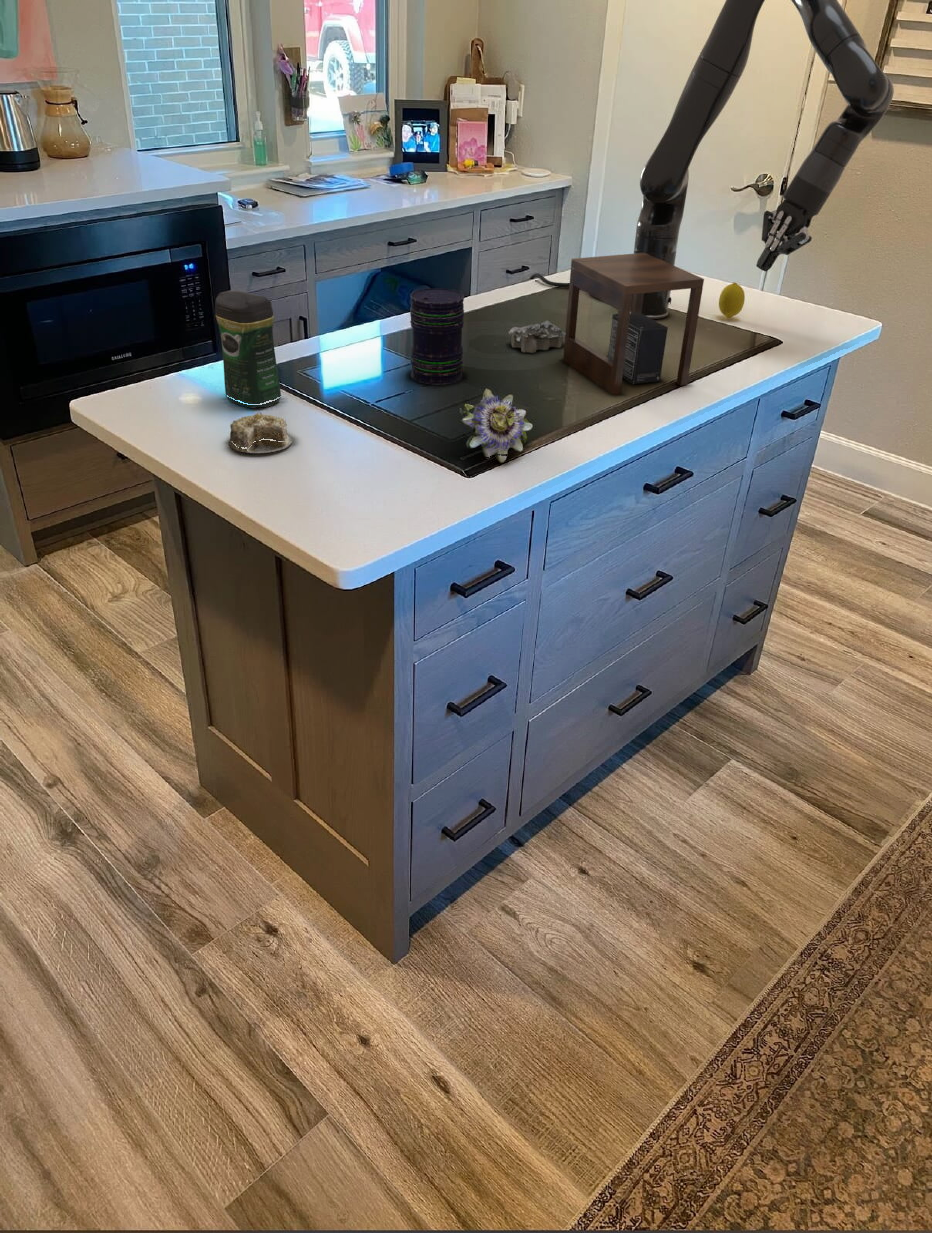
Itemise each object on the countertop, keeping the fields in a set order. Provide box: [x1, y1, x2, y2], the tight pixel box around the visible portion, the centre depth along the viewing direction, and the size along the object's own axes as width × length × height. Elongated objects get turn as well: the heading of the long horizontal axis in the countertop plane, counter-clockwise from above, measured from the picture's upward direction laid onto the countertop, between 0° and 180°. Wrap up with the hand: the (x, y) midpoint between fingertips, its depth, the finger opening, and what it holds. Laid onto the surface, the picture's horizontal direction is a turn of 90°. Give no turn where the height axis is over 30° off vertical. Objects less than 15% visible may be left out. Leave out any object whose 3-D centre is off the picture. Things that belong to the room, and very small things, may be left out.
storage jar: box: [409, 287, 465, 386], centre depth 175 cm, size 10×10×15 cm
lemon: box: [718, 282, 746, 320], centre depth 212 cm, size 6×6×8 cm
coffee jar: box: [214, 288, 282, 409], centre depth 162 cm, size 10×8×19 cm
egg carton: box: [508, 320, 566, 354], centre depth 194 cm, size 11×8×4 cm
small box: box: [607, 313, 669, 385], centre depth 179 cm, size 11×6×10 cm, turn 23°
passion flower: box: [458, 388, 534, 464], centre depth 149 cm, size 11×11×12 cm
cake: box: [228, 412, 293, 454], centre depth 150 cm, size 10×10×5 cm
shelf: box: [562, 253, 705, 396], centre depth 178 cm, size 20×16×20 cm
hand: (761, 269), depth 187 cm, fingers closed
